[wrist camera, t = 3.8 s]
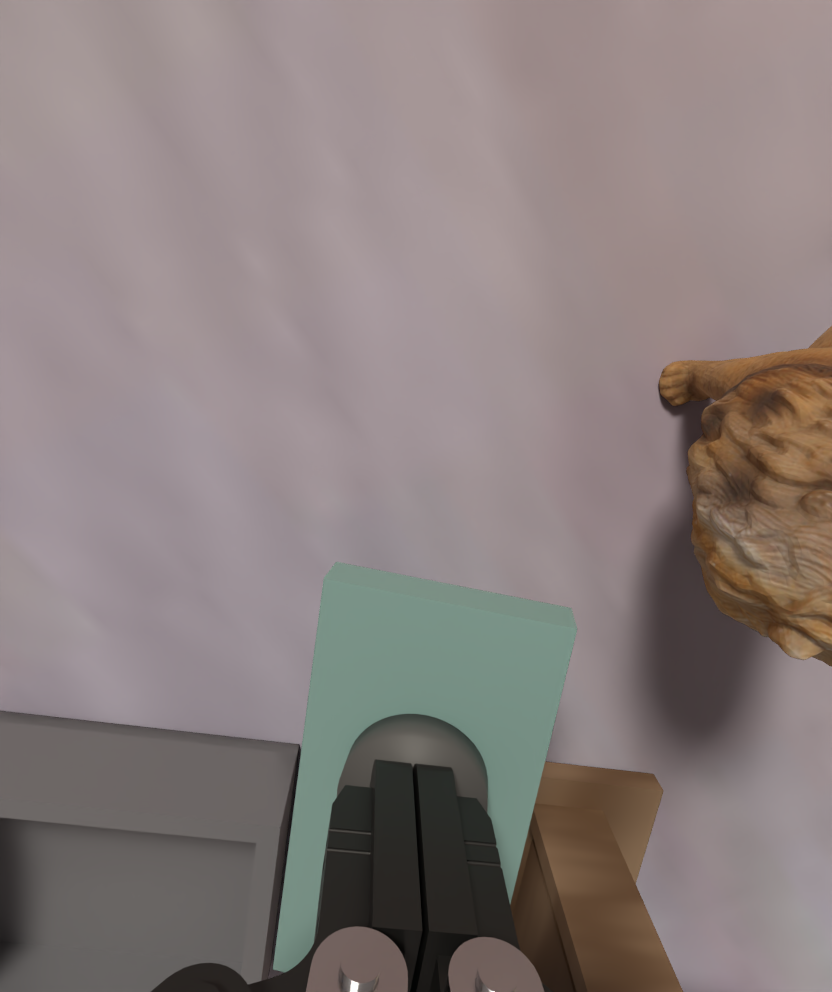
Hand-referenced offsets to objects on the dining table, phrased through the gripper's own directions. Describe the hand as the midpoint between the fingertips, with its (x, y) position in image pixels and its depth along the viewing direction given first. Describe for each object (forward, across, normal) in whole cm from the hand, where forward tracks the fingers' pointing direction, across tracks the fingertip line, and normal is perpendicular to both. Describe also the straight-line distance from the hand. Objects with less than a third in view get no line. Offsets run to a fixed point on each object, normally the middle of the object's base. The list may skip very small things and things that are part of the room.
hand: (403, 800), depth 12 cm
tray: (+7, +8, +9) cm, 14 cm away
